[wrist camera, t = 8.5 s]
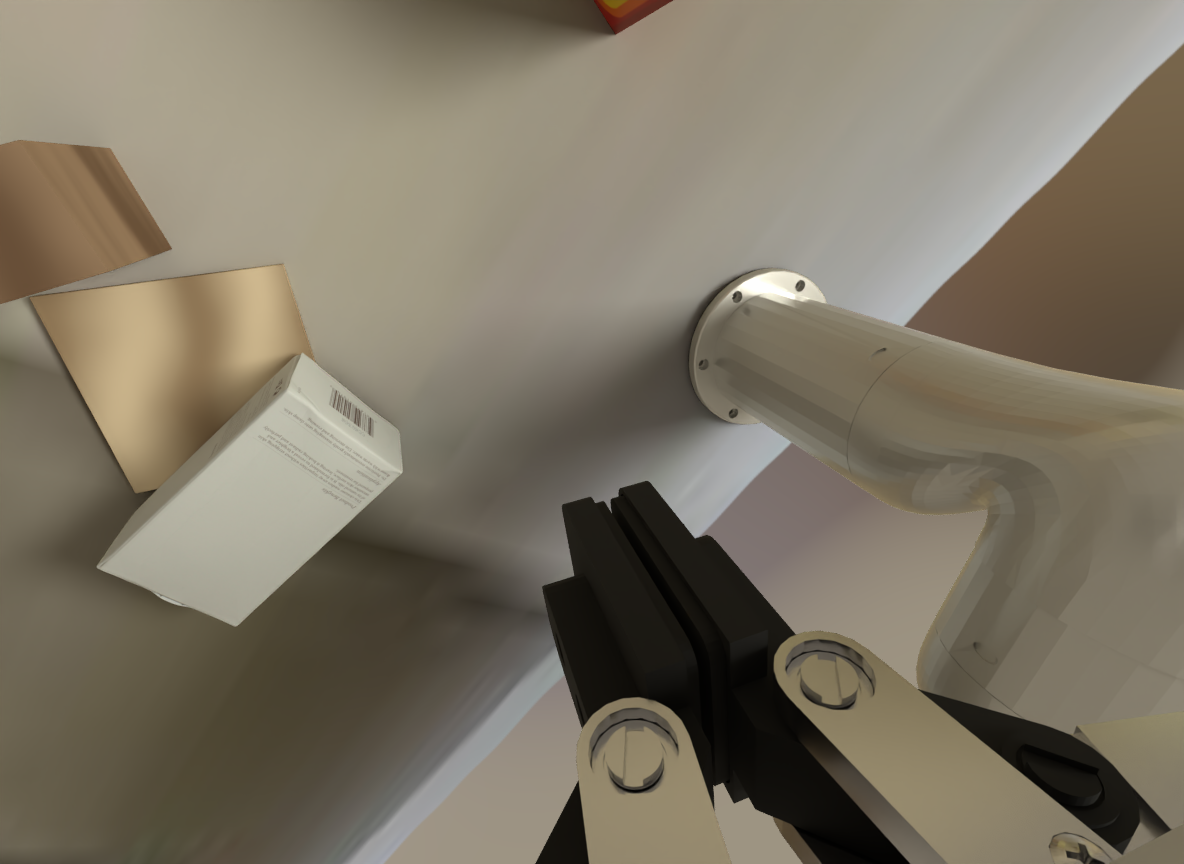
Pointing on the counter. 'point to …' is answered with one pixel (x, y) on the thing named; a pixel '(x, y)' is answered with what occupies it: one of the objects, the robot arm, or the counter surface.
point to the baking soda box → (627, 11)
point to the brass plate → (173, 358)
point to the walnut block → (67, 217)
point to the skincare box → (259, 496)
